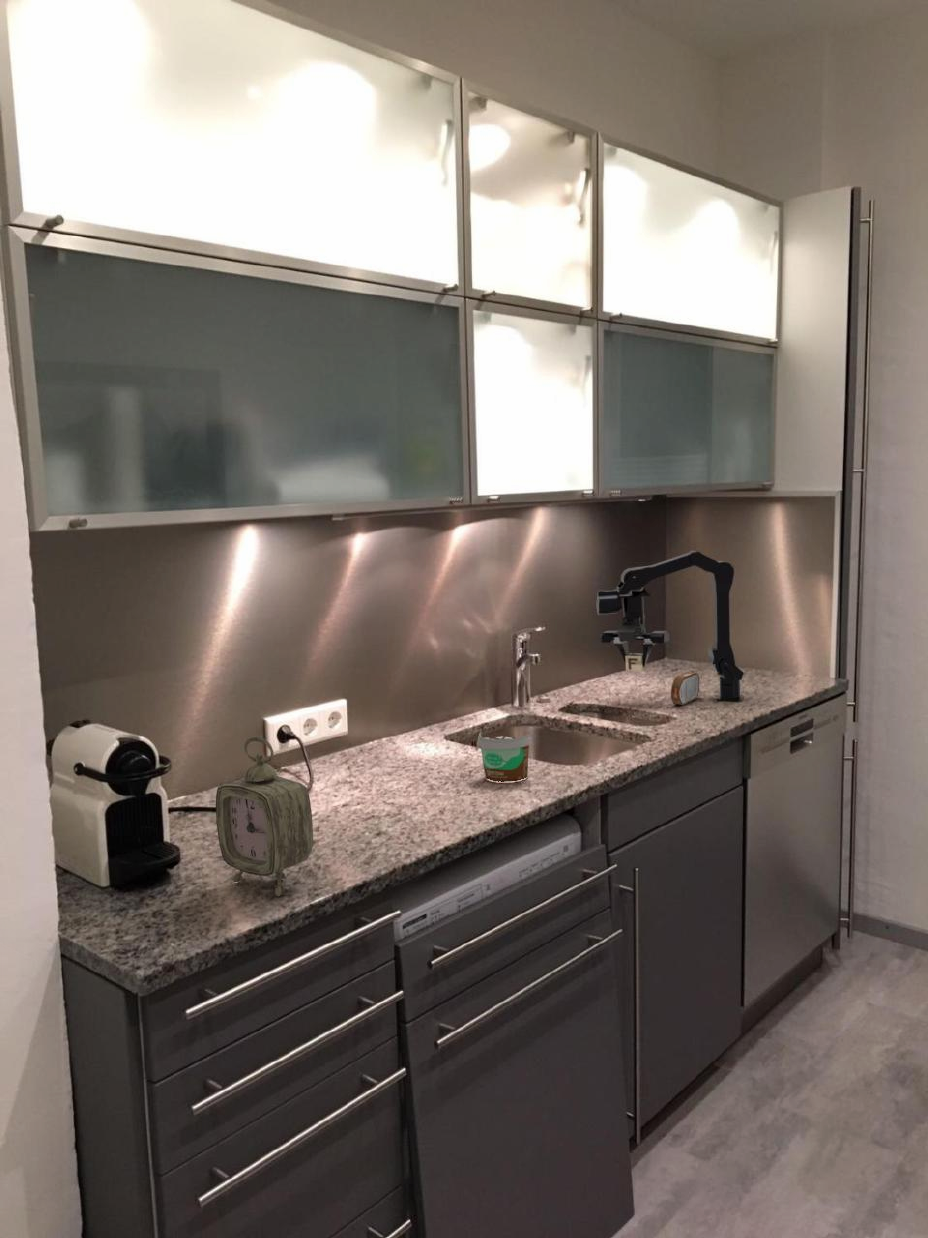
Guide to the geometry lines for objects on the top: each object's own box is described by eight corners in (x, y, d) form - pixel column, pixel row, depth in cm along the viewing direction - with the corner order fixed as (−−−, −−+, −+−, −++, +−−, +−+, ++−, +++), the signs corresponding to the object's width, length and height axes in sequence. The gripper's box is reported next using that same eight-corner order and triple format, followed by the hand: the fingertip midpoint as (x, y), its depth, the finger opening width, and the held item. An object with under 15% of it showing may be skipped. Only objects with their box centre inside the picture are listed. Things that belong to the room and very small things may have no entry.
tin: (691, 697, 297) (690, 669, 296) (701, 698, 295) (701, 669, 294) (670, 707, 285) (669, 678, 284) (680, 708, 283) (679, 678, 282)
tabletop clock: (221, 885, 168) (208, 738, 166) (264, 868, 175) (252, 726, 172) (279, 903, 159) (267, 747, 156) (321, 884, 166) (310, 735, 163)
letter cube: (630, 668, 294) (630, 653, 293) (645, 669, 292) (645, 653, 291) (625, 671, 289) (625, 655, 289) (641, 671, 287) (640, 655, 287)
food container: (470, 784, 220) (468, 739, 219) (480, 776, 226) (478, 732, 224) (524, 787, 215) (522, 741, 214) (533, 779, 221) (531, 734, 220)
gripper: (593, 616, 286) (595, 670, 287) (657, 616, 277) (660, 672, 279) (605, 611, 296) (608, 664, 297) (668, 611, 287) (670, 665, 289)
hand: (635, 666), depth 290 cm, fingers closed on letter cube, 4 cm apart
